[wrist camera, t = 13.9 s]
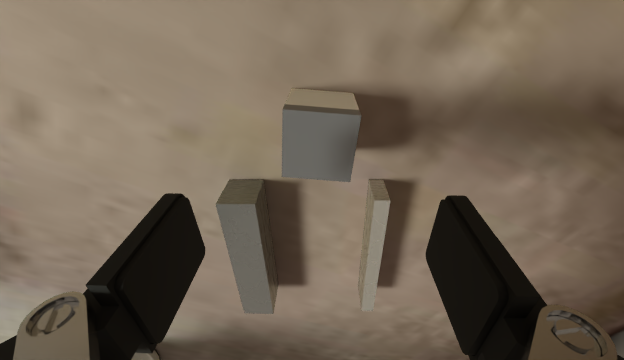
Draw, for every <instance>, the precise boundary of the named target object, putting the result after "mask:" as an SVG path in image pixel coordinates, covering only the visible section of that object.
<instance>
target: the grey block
mask: <svg viewBox="0 0 624 360" xmlns="http://www.w3.org/2000/svg"><path fill="white" fill-rule="evenodd" d="M360 121H361V113H360V110H359V108H358V105H357V102H356V99H355V97H354V94H353V93H346V92H334V91H322V90H309V89H297V88H291V91H290V93H289V95H288V98H287V100H286V103H285V105H284V107H283V125H282V177H291V178H304V179H317V180H329V181H342V182H350V180H351V174H352V168H353V162H354V156H355V151H356V145H357V139H358V133H359V127H360Z"/></svg>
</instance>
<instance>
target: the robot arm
mask: <svg viewBox="0 0 624 360" xmlns="http://www.w3.org/2000/svg"><path fill="white" fill-rule="evenodd" d="M204 256H205V246H204V243H203V240H202V237H201V234H200V231H199V228H198V225H197V222H196V219H195V216H194V213H193V210H192V207H191V204H190V201H189V199H188V198H186V197H185V196H184V195H183V194H165V195H163V196H162V198H161V199H160V200H159V201H158V202H157V203H156V204H155V206H154V207H153V208H152V209H151V210H150V211H149V213H148V214H147V215H146V216H145V217H144V218H143V219H142V221H141V222H140V223H139V224H138V225H137V226H136V228H135V229H134V230H133V231H132V232H131V233H130V234H129V236H128V237H127V238H126V239H125V240H124V241H123V243H122V244H121V245H120V246H119V247H118V248H117V249H116V251H115V252H114V253H113V254H112V255H111V256H110V258H109V259H108V260H107V261H106V262H105V263H104V264H103V266H102V267H101V268H100V269H99V270H98V271H97V273H96V274H95V275H94V276H93V277H92V278H91V279H90V281H89V282H88V283H87V284H86V287H87V288H88V289H87V290H86V291H85V292H84V293H83V294H82V293H80V292H74V291H72V292H66V293H62V294H59V295H56V296H54V297H52V298H50V299H48V300H46V301H44V302H43V303H42V304H40V305H39V306H37V307H36V308H35V309H33V310H32V311H31V312H30V313H29V314H28V315H27V316H26V317H25V319H24V320H23V321H22V323H21V324H20V327H19V329H18V332H17V335H16V336H14V337H12V338H11V339H9V340H7V341H5V342H3V343H1V344H0V360H160V359H159V356H158V354H157V353H156V351H155V350H154V349H155V347H156V345H157V343H160V342H162V340H163V339H164V337H165V335H166V333H167V331H168V329H169V327H170V325H171V323H172V321H173V319H174V317H175V315H176V313H177V311H178V309H179V307H180V305H181V303H182V301H183V299H184V297H185V295H186V293H187V291H188V289H189V286H190V284H191V282H192V280H193V278H194V276H195V274H196V272H197V270H198V268H199V266H200V264H201V262H202V260H203V258H204ZM426 260H427V263H428V266H429V268H430V271H431V273H432V276H433V278H434V281H435V284H436V286H437V289H438V291H439V294H440V296H441V299H442V301H443V304H444V307H445V309H446V312H447V314H448V317H449V319H450V322H451V325H452V327H453V330H454V332H455V335H456V337H457V340H458V342H459V345H460V348H461V350H462V352H463V353H464V354H465V355H469V358H470V360H624V358H622V357H621V356H619V355H617V352H616V347H615V344H614V343H613V341H612V339H611V338H610V336H609V335H608V334H607V333H606V332H605V331H604V330H603V329H602V327H601V326H599V325H598V324H597V323H596V322H594V321H593V320H592V319H590V318H589V317H587V316H586V315H584V314H582V313H580V312H579V311H576V310H574V309H571V308H569V307H566V306H561V305H548V306H547V304H546V303H545V302H544V300H543V299H542V298H541V296H540V295H539V294H538V292H537V291H536V289H535V288H534V287H533V285H532V284H531V283H530V281H529V280H528V279H527V277H526V276H525V275H524V273H523V272H522V270H521V269H520V268H519V266H518V265H517V264H516V262H515V261H514V260H513V258H512V257H511V256H510V254H509V253H508V251H507V250H506V249H505V247H504V246H503V245H502V243H501V242H500V241H499V239H498V238H497V237H496V236H495V234H494V233H493V232H492V230H491V229H490V228H489V226H488V225H487V224H486V222H485V221H484V219H483V218H482V217H481V215H480V214H479V213H478V211H477V210H476V209H475V207H474V206H473V204H472V203H471V202H470V200H469V199H468V198H467V197H466V196H447V197H446V198H445V200H441V202H440V205H439V208H438V212H437V215H436V219H435V222H434V225H433V229H432V232H431V236H430V239H429V243H428V246H427V250H426Z"/></svg>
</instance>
